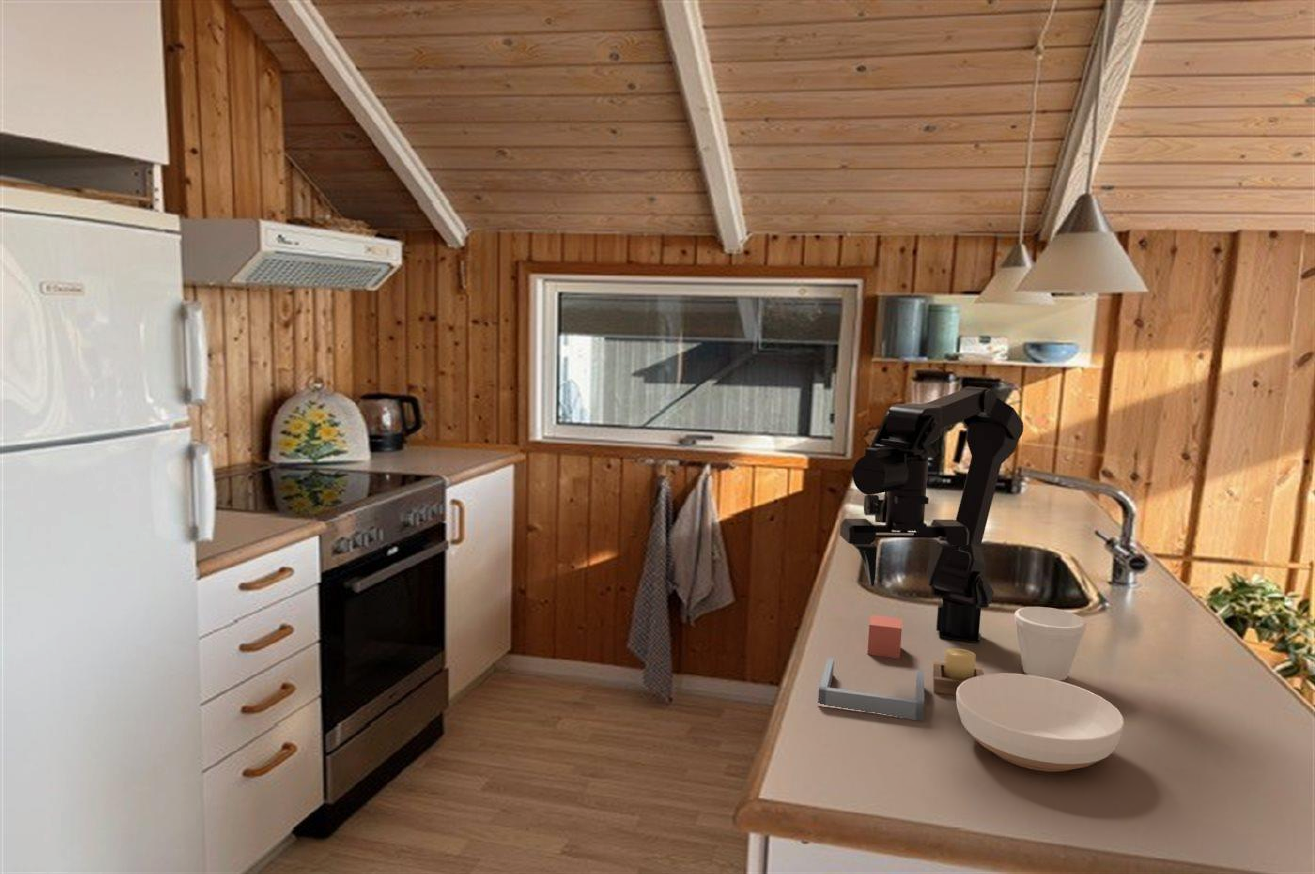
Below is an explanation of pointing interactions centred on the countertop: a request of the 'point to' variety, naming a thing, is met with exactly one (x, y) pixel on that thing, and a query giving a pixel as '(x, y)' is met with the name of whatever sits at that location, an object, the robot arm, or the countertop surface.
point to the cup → (1048, 640)
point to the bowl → (1038, 721)
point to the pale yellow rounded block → (959, 664)
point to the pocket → (872, 698)
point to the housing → (948, 679)
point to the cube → (884, 636)
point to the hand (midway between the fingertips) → (900, 585)
